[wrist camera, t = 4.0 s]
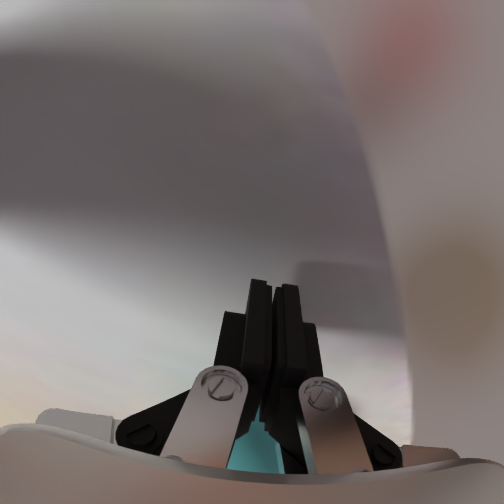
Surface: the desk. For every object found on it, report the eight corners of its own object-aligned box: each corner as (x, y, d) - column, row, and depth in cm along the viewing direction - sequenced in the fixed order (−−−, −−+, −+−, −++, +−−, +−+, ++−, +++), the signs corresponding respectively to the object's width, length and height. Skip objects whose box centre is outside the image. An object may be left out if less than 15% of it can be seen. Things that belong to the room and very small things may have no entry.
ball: (187, 369, 15) (161, 469, 10) (298, 386, 15) (304, 486, 10) (186, 424, 18) (169, 501, 12) (274, 436, 18) (273, 514, 13)
